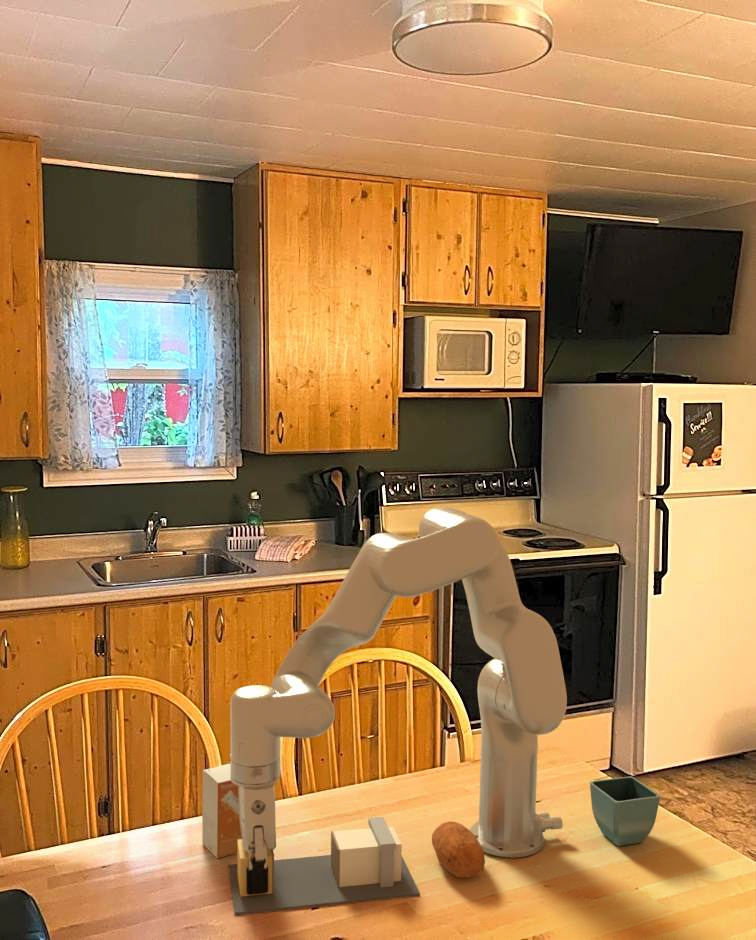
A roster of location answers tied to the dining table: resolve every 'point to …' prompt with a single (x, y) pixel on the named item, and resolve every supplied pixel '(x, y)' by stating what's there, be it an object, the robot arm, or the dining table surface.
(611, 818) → the flower pot
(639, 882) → the dining table surface
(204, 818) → the small box
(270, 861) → the stub
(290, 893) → the mat
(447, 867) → the potato
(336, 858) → the two-tone stepped block
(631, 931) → the dining table surface
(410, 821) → the dining table surface
